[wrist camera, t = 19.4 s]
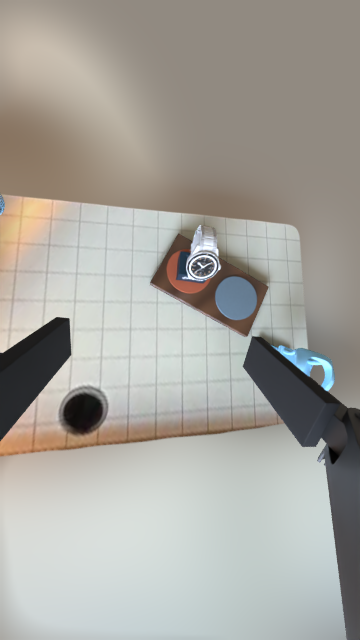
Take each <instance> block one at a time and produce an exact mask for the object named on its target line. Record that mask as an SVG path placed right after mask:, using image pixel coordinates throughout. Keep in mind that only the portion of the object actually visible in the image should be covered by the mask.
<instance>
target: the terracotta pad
mask: <svg viewBox="0 0 360 640" xmlns="http://www.w3.org/2000/svg"><path fill="white" fill-rule="evenodd" d="M181 251H184V252H190V253H191V249H183V250H180V251H178V252H176V253H174V254H173V255H172V256H171V258H170V259H169V261H168V264H167V275H168V278H169V280H170V282H171V284H172V285H173V286H174V287H175V288H176V289H178V290H180V291H182V292H185V293H196V292H199V291H201V290H203V289H204V288H205V287H206V286H207V285H208V283H209V281H210V279H211V278H209V279H207V280H206V281H205V283H204V284H203V283H196V282H188V281H181V280H176V275H177V263H178V257H179V254H180V252H181Z"/></svg>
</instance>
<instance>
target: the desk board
mask: <svg viewBox="0 0 360 640" xmlns="http://www.w3.org/2000/svg"><path fill="white" fill-rule="evenodd" d="M191 244H192V241H191V240H189V239H187V238H185V237H184V236H182V235H180V234H178V236H177V237H176V239H175V241H174V242H173V244H172V246H171V248H170V249H169V251H168V253H167V255H166V256H165V258H164V260H163V261H162V263H161V265H160V267H159V268H158V270H157V272H156V274H155V275H154V277H153V279H152V280H151V282H150V285H152V286H154V287H155V288H157V289H159V290H161V291H163V292H164V293H166V294H168V295H170V296H172V297H173V298H175V299H177V300H179V301H181V302H182V303H184V304H186V305H188V306H190V307H192V308H193V309H195V310H197V311H199V312H201V313H202V314H204V315H206V316H208V317H210V318H211V319H213V320H215V321H217V322H219V323H220V324H222V325H224V326H226V327H228V328H230V329H231V330H233V331H235V332H237V333H239V334H240V335H242V336H244V337H247V336H248V334H249V331H250V329H251V327H252V324H253V322H254V320H255V318H256V315H257V313H258V311H259V308H260V306H261V304H262V301H263V299H264V297H265V294H266V292H267V290H268V286H266V285H265V284H263V283H261V282H260V281H258V280H256V279H255V278H253V277H251V276H250V275H248V274H246V273H245V272H243V271H241V270H239V269H238V268H236V267H234V266H233V265H231V264H229V263H228V262H226V261H224V260H223V259H221V258H219V257H218V259H219V265H221V269H220V270H218V271H217V273H216V274H215V275H214V276H212V277H211V279H210V281H209V283H208V285H207V286H206V287H205V288H204V289H203V290H201V291H199V292H196V293H185V292H182V291H180V290H178V289H176V288H175V287H174V286H173V285H172V284H171V282H170V280H169V278H168V275H167V264H168V261H169V259H170V258H171V256H172V255H173V254H174V253H176V252H178V251H180V250H183V249H191ZM233 276H236V277H241V278H244V279H245V280H247V281H248V282H249V283H250V284H251V285H252V286H253V288H254V289H255V292H256V295H257V304H256V308H255V310H254V311H253V313H252V314H251V315H250V316H249V317H247V318H245V319H241V320H234V319H230V318H228V317H226V316H225V315H224V314H222V313H221V311H220V310H219V308H218V307H217V304H216V300H215V293H216V289H217V287H218V285H219V284H220V283H221V282H222V281H223V280H224V279H226V278H228V277H233Z"/></svg>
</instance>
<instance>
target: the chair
mask: <svg viewBox="0 0 360 640" xmlns="http://www.w3.org/2000/svg"><path fill="white" fill-rule="evenodd" d="M271 346H272V345H271ZM273 347H274V348H275V349H276V350H277V351H279V352H280V353H281V354H282V355H283V356H285V357H286V358H287V359H288V360H289V361H291V362H292V363H293V364H294V365H295V366H297V367H298V368H299V369H300V370H301V371H303V372H304V373H305V374H306V375H307V376H310V372H311V368H312V365H322V366H323V368H324V370H325V380H324V382H323V384H322V385H321V386H322V387H323V388H324V390H326V391H328V390H329V389H330V388H331V386H332V385H333V383H334V380H335V374H334V369H333V365H332V361H331V359H329V358H328V357H326V356H324V355H322V354H319V353H316V352H314V351H311V350H307V349H304V348H298V349H295V350H292V349H289V348H287V347H285V346H279V348H277V347H275V346H273ZM314 359H315V360H314Z"/></svg>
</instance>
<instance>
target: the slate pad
mask: <svg viewBox="0 0 360 640" xmlns="http://www.w3.org/2000/svg"><path fill="white" fill-rule="evenodd" d="M215 300H216V304H217V307H218V308H219V310H220V311H221V313H222V314H224V315H225V316H226V317H228V318H230V319H234V320H241V319H245V318H247V317H249V316H250V315H251V314H252V313H253V311H254V310H255V308H256V304H257V295H256V292H255V289H254V288H253V286H252V285H251V284H250V283H249V282H248V281H247V280H245V279H244V278H241V277H236V276H233V277H228V278H226V279H224V280H223V281H222V282H221V283H220V284H219V285H218V287H217V289H216V293H215Z"/></svg>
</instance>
